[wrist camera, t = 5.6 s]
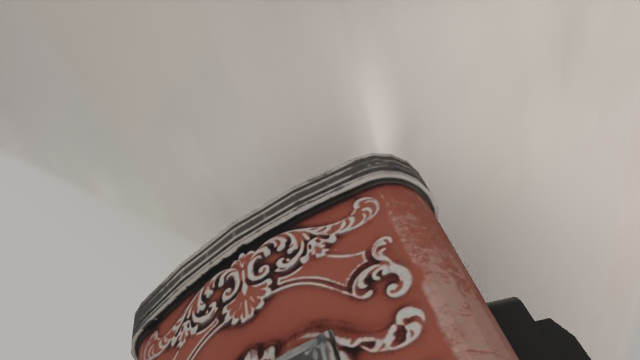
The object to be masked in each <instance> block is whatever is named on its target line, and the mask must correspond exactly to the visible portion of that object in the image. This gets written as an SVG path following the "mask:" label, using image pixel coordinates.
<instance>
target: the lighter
mask: <svg viewBox="0 0 640 360" xmlns="http://www.w3.org/2000/svg"><path fill="white" fill-rule="evenodd" d="M131 353H132V356H133V358H134V359H135V360H519V359H518V357H517V355H516V354H515V352H514V350H513V349H512V347H511V345H510V343H509V342H508V340H507V338H506V337H505V335H504V333H503V331H502V330H501V328H500V326H499V325H498V323H497V321H496V319H495V318H494V316H493V314H492V313H491V311H490V309H489V307H488V306H487V304H486V302H485V301H484V299H483V297H482V295H481V294H480V292H479V290H478V289H477V287H476V285H475V284H474V282H473V280H472V278H471V277H470V275H469V273H468V272H467V270H466V268H465V266H464V265H463V263H462V261H461V260H460V258H459V256H458V254H457V253H456V251H455V249H454V248H453V246H452V244H451V242H450V241H449V239H448V237H447V236H446V234H445V232H444V230H443V229H442V227H441V225H440V224H439V222H438V207H437V205H436V203H435V201H434V198H433V196H432V194H431V192H430V191H429V189H428V187H427V186H426V184H425V182H424V181H423V179H422V177H421V176H420V174H419V173H418V171H416V170H415V169H414V168H413V167H412V166H411V165H410V164H409V163H408V162H407V161H405V160H403V159H400V158H398V157H396V156H393V155H391V154H377V153H372V154H368V155H364V156H360V157H357V158H354V159H352V160H350V161H348V162H346V163H343V164H341V165H339V166H337V167H335V168H333V169H331V170H328V171H326V172H324V173H322V174H320V175H318V176H316V177H313V178H311V179H309V180H307V181H305V182H303V183H301V184H298V185H296V186H294V187H292V188H291V189H289V190H287V191H285V192H284V193H282V194H280V195H279V196H277V197H275V198H274V199H272V200H270V201H269V202H267V203H265V204H264V205H262V206H260V207H259V208H257V209H255V210H254V211H252V212H250V213H249V214H247V215H245V216H244V217H242V218H240V219H239V220H237V221H235V222H234V223H232V224H231V225H230V226H228V227H227V228H226V229H224V230H223V231H222V232H221V233H219V234H218V235H217V236H215V237H214V238H213V239H212V240H210V241H209V242H208V243H207V244H205V245H204V246H203V247H201V248H200V249H199V250H198V251H196V252H195V253H194V254H193V255H191V256H190V257H189V258H187V259H186V260H185V261H184V262H182V263H181V264H180V265H179V266H178V267H177V268H176V269H175V270H174V271H173V272H172V273H171V274H170V275H169V276H168V277H167V278H166V279H165V280H164V281H163V282H162V283H161V284H160V285H159V286H158V287H157V288H156V289H155V290H154V291H153V292H152V293H151V294H150V295H149V296H148V297H147V298H146V299H145V300H144V301H143V302H142V303H141V305H140V306H139V308H138V310H137V311H136V313H135V320H134V327H133V336H132V350H131Z"/></svg>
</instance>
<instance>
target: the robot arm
mask: <svg viewBox="0 0 640 360" xmlns="http://www.w3.org/2000/svg"><path fill="white" fill-rule="evenodd" d="M486 304H487V306H488V307H489V309H490V311H491V313H492V314H493V316H494V318H495V319H496V321H497V323H498V325H499V326H500V328H501V330H502V331H503V333H504V335H505V337H506V338H507V340H508V342H509V343H510V345H511V347H512V349H513V350H514V352H515V354H516V355H517V357H518V359H519V360H591V359H590V357H589V356H588V355H587V353H586V352H585V350H584V349H583V348H582V346H581V345H580V343H579V342H578V341H577V339H576V338H575V336H573V335H572V334H571V333H569V332H568V331H567V330H565V329H564V328H562V327H561V326H560V325H558V324H557V323H556V322H554V321H553V320H552V319H550V318H548V319H544V320H539V321H534V320H533V318H532V316H531V315H530V313H529V312H528V310H527V309H526V307H525V306H524V304H523V303H522V302H521V301H520V300H519V299H518V298H516V297H512V298H507V299H503V300H498V301H494V302H489V303H486Z"/></svg>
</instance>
